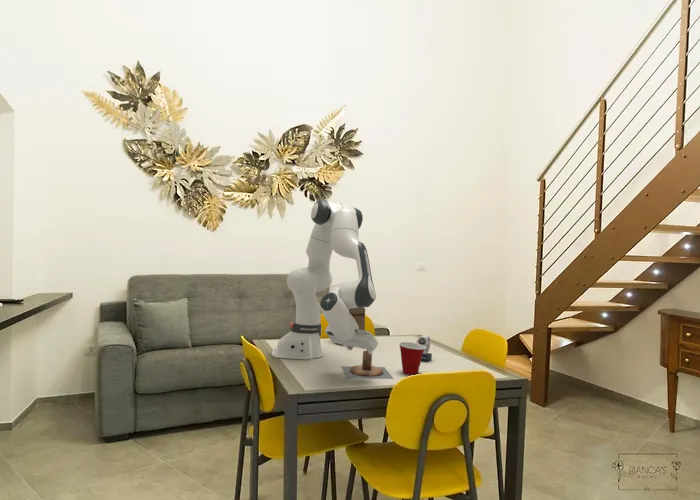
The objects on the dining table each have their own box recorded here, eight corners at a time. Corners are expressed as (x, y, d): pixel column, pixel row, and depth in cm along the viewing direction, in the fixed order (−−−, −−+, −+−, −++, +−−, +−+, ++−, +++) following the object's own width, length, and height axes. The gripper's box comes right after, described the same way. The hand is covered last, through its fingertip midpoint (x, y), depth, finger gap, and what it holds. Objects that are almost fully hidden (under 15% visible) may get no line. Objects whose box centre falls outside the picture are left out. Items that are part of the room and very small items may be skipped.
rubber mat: (346, 379, 202) (346, 378, 202) (341, 367, 220) (341, 366, 220) (393, 379, 204) (393, 378, 204) (384, 367, 222) (384, 367, 222)
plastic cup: (423, 378, 208) (425, 347, 208) (395, 375, 210) (397, 345, 210) (425, 372, 219) (426, 342, 218) (398, 369, 221) (400, 340, 220)
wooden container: (335, 340, 277) (337, 297, 277) (364, 341, 277) (366, 299, 276) (333, 345, 262) (335, 300, 262) (363, 347, 262) (366, 302, 261)
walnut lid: (352, 376, 205) (353, 354, 204) (347, 367, 217) (348, 347, 217) (386, 376, 206) (387, 355, 206) (379, 368, 219) (380, 348, 219)
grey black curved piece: (414, 360, 238) (415, 336, 238) (421, 357, 245) (422, 333, 244) (425, 363, 235) (427, 338, 235) (433, 359, 242) (434, 335, 241)
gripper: (372, 325, 195) (386, 348, 203) (329, 318, 208) (343, 340, 216) (364, 339, 192) (379, 362, 200) (321, 331, 204) (336, 352, 212)
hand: (360, 350), depth 208 cm, fingers open, 8 cm apart
